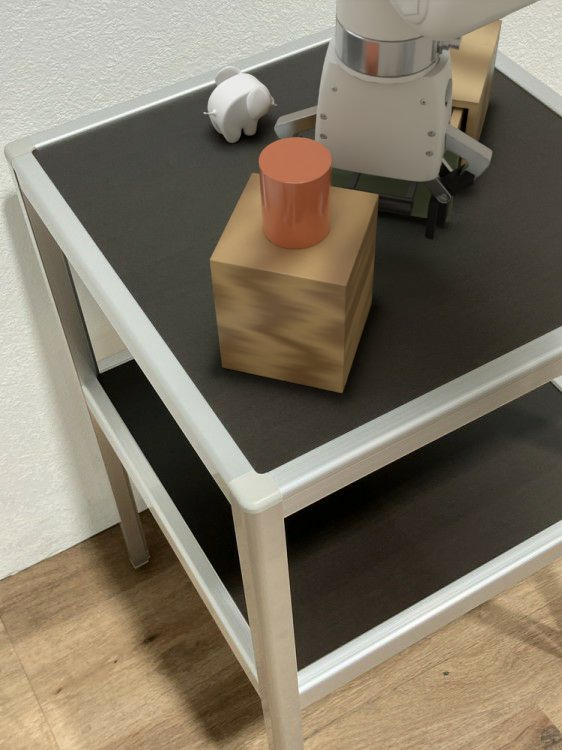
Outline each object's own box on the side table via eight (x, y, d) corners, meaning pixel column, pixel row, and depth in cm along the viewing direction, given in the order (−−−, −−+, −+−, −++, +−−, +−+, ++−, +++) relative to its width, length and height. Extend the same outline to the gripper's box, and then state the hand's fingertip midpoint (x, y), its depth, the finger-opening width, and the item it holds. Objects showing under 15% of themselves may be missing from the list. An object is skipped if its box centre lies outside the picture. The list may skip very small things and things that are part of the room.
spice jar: (338, 209, 71) (339, 143, 67) (320, 255, 68) (321, 188, 64) (273, 198, 72) (270, 131, 68) (253, 242, 69) (249, 176, 65)
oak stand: (371, 304, 82) (378, 193, 72) (342, 393, 76) (346, 285, 66) (259, 282, 84) (252, 172, 74) (221, 367, 78) (209, 259, 68)
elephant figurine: (292, 133, 97) (291, 81, 92) (224, 162, 94) (220, 110, 90) (256, 100, 101) (253, 49, 96) (189, 128, 98) (183, 76, 93)
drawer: (436, 265, 83) (446, 195, 77) (309, 241, 86) (308, 171, 79) (472, 138, 94) (482, 68, 88) (358, 121, 96) (361, 51, 90)
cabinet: (465, 189, 91) (479, 102, 83) (335, 167, 93) (337, 81, 86) (488, 105, 99) (502, 19, 92) (368, 87, 101) (372, 2, 94)
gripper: (517, 24, 70) (484, 207, 83) (286, -6, 73) (291, 174, 86) (501, 83, 65) (470, 267, 78) (256, 48, 69) (266, 229, 82)
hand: (376, 218), depth 82 cm, fingers open, 9 cm apart
